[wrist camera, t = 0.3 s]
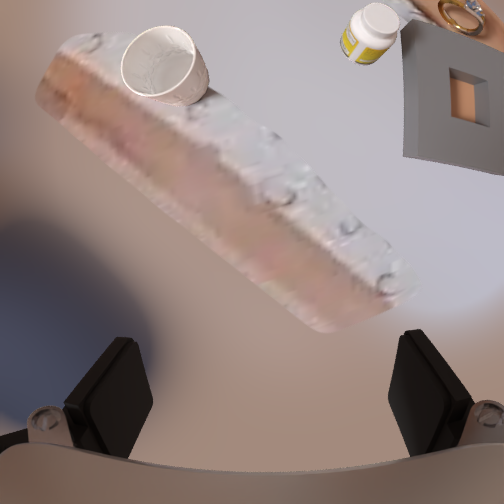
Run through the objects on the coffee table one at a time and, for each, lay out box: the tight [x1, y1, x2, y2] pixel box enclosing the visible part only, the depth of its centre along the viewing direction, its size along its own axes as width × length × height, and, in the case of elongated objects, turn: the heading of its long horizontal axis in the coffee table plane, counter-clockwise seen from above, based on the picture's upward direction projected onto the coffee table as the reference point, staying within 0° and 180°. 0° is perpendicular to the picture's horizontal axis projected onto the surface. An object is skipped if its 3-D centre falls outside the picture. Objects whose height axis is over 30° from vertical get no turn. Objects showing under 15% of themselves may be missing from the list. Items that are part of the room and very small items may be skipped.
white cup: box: [121, 26, 209, 106], centre depth 31 cm, size 8×8×10 cm
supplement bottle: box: [340, 3, 400, 65], centre depth 28 cm, size 5×5×10 cm
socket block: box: [400, 19, 504, 176], centre depth 31 cm, size 18×16×4 cm
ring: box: [438, 0, 485, 35], centre depth 26 cm, size 7×3×8 cm, turn 53°
